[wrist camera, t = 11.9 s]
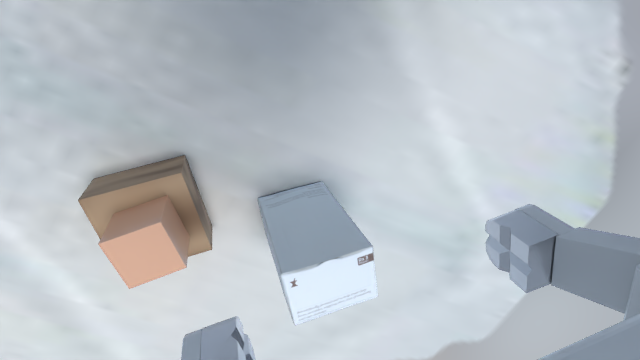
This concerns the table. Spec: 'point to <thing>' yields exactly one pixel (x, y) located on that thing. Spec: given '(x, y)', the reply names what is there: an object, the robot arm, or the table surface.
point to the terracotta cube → (146, 242)
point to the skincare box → (317, 252)
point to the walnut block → (151, 198)
